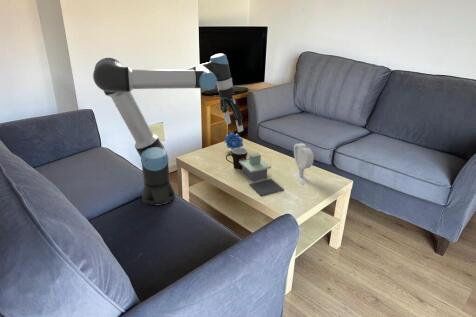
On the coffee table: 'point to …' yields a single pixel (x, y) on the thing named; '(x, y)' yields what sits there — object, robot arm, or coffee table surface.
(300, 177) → the heart sculpture
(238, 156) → the coffee mug
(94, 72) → the robot arm
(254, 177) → the grey open box
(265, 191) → the mat
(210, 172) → the coffee table surface
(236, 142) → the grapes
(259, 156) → the lid
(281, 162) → the coffee table surface
